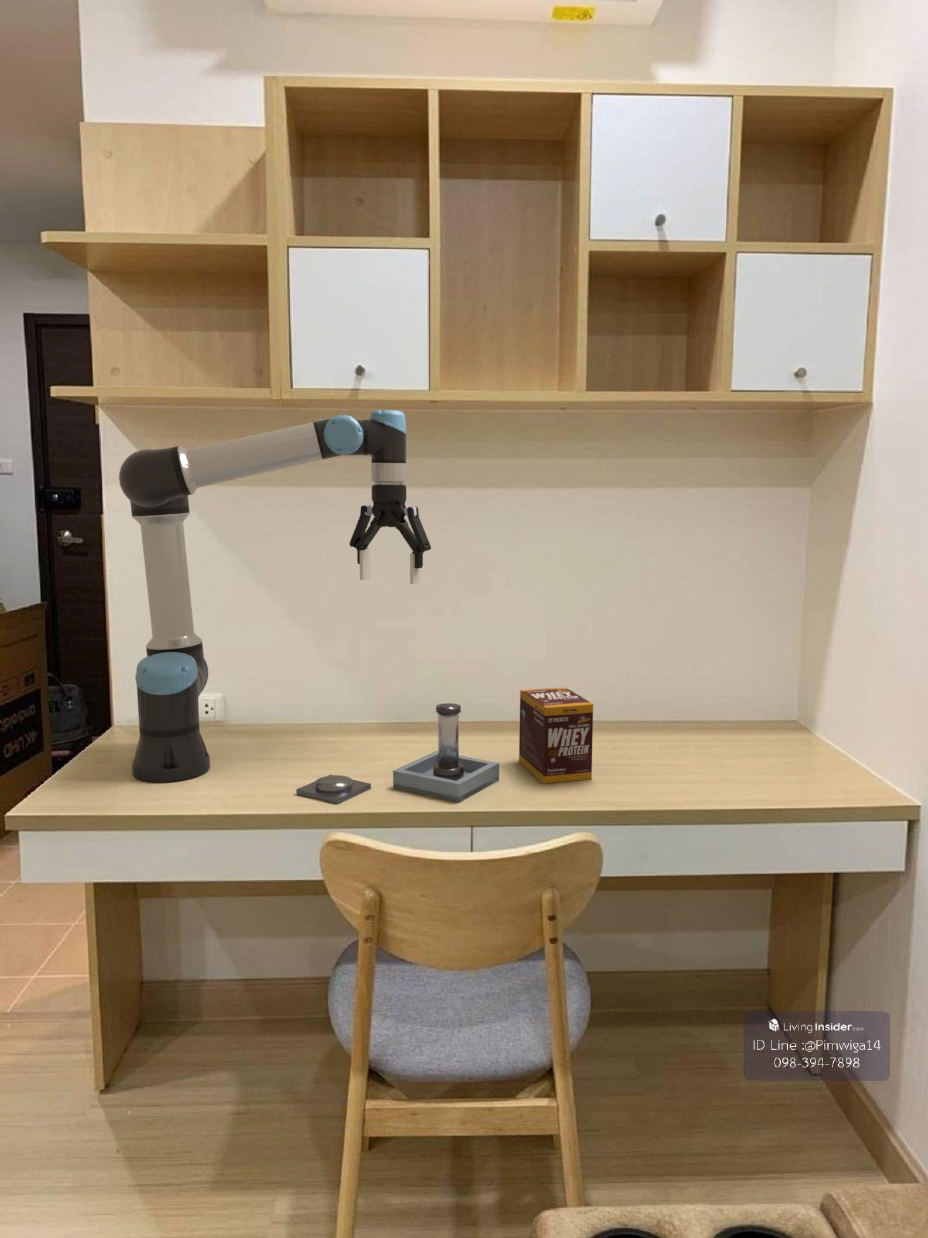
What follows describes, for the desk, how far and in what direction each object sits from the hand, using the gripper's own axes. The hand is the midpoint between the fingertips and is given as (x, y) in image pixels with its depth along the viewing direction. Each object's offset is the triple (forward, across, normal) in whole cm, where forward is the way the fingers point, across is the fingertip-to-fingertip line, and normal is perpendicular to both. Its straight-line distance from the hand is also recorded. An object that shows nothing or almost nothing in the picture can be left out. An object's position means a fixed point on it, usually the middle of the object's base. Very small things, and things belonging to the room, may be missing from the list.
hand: (389, 581), depth 203 cm
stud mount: (+37, -10, +32) cm, 50 cm away
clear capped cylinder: (+36, -26, +16) cm, 47 cm away
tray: (+36, -26, +17) cm, 48 cm away
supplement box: (+37, -40, -2) cm, 54 cm away
